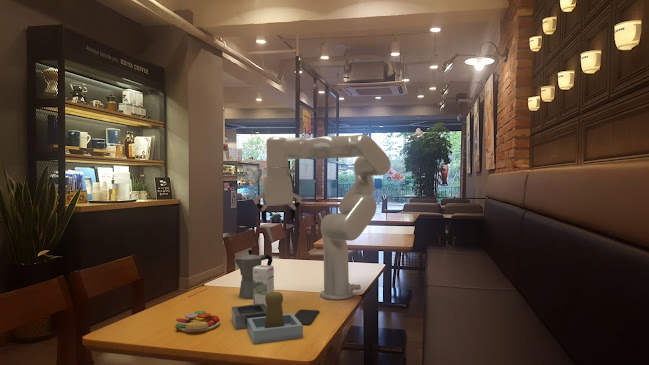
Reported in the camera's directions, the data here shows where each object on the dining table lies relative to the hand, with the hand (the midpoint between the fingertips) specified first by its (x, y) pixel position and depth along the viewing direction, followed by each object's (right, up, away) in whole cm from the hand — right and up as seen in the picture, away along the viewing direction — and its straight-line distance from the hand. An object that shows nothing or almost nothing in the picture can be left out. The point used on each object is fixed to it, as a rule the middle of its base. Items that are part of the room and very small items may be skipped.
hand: (278, 221), depth 154 cm
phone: (+10, -31, -11) cm, 34 cm away
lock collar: (-5, -30, -12) cm, 33 cm away
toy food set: (-23, -31, -18) cm, 43 cm away
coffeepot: (-11, -31, +17) cm, 37 cm away
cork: (+2, -30, -26) cm, 39 cm away
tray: (+2, -30, -26) cm, 40 cm away
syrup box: (-5, -31, +1) cm, 31 cm away
